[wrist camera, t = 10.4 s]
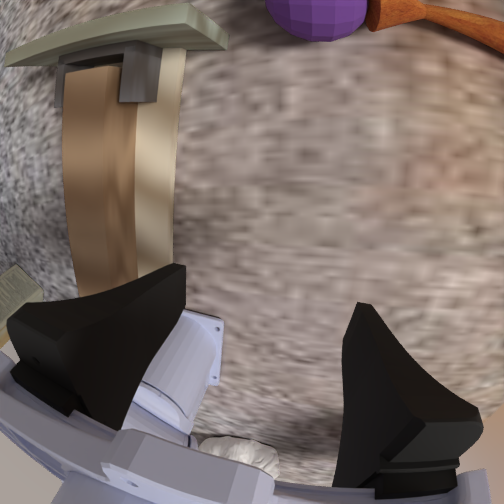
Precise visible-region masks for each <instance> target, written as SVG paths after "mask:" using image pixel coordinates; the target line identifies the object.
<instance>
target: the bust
mask: <svg viewBox="0 0 504 504" xmlns="http://www.w3.org/2000/svg"><path fill="white" fill-rule="evenodd" d="M198 450H199V451H202V452H206V453H209V454H213V455H216V456H220V457H224V458H228V459H232V460H236V461H240V462H243V463H246V464H249V465H252V466H255V467H258V468H260V469H262V470H263V471H265V472H267V473H268V474H270V475H271V476H272V477H273V479H275V478H276V477H277V476H278V475H279V474H280V472H279V467H280V464H279V458H278V454H277V451H276V450H275V449H274V448H273V447H271V446H267V445H264V444H261V443H259V442H257V441H256V440H253V439H251V440H247V439H240V438H234V437H230V436H224V437H220V438H218V437H214V438H207V439H205V440H204V441H203V442H202V443H201V444H200V446H199V447H198Z"/></svg>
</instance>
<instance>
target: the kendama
mask: <svg viewBox="0 0 504 504" xmlns="http://www.w3.org/2000/svg"><path fill="white" fill-rule="evenodd" d="M265 3H266V8H267V9H268V11H269V12H270V14H271V16H272V17H273V19H274V21H275V22H276V23H277V24H278V25H280V26H281V27H282V28H284V29H285V30H286V31H287V32H289V33H290V34H291V35H294V36H297V37H300V38H303V39H306V40H309V41H325V42H332V41H334V40H337V39H340V38H343V37H347V36H349V35H350V34H351V33H352V32H353V31H355V30H356V29H357V28H358V27H359V26H360V25H361V24H362V23H363V22H364V19H365V21H366V25H367V27H368V29H369V30H370V31H372V32H375V31H379V30H382V29H385V28H389V27H392V26H396V25H399V24H403V23H407V22H411V21H415V20H419V19H426V20H429V21H432V22H434V23H437V24H440V25H442V26H445V27H448V28H450V29H453V30H455V31H457V32H460V33H462V34H464V35H467V36H469V37H471V38H473V39H475V40H478V41H480V42H482V43H484V44H486V45H488V46H490V47H492V48H494V49H495V50H497V51H499V52H501V53H503V54H504V22H501V21H498V20H495V19H492V18H488V17H484V16H481V15H477V14H473V13H469V12H465V11H460V10H455V9H450V8H445V7H440V6H434V5H427V4H423V3H421V2H420V1H418V0H265Z"/></svg>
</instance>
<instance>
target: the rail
mask: <svg viewBox="0 0 504 504" xmlns="http://www.w3.org/2000/svg"><path fill="white" fill-rule="evenodd" d="M121 76H122V68H120V67H113V66H104V67H97V68H91V69H86V70H80V71H75V72H70V73H66V76H65V86H64V99H63V120H62V163H63V184H64V198H65V209H66V218H67V227H68V235H69V242H70V248H71V255H72V261H73V266H74V272H75V277H76V282H77V287H78V292H79V296H80V297H84V296H88V295H93V294H97V293H100V292H103V291H107V290H110V289H113V288H115V287H118V286H121V285H123V284H126V283H128V282H130V281H133V280H135V279H138V266H137V250H136V230H135V145H136V126H137V111H138V102H119V97H120V86H121Z"/></svg>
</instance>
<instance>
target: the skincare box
mask: <svg viewBox="0 0 504 504" xmlns="http://www.w3.org/2000/svg"><path fill="white" fill-rule="evenodd" d="M43 293H44V291H43V289H42V288H41V287H40V286H39V285H38V284H37V283H36V282H35V281H34V280H32V279H31V278H30V277H29V276H28V275H27V274H26V273H25V272H24V271H23V270H22V269H21V268H20V267H19V266H18V265H17V264H15V265H14V266H12V267H11V268H10V269H8V270H7V271H6V272H4V273H3V274H2V275H0V349H1V348H2V347H3V346H4V345H5V344H6V343H7V342H8V340H9V339H10V337H9V334H8V332H7V327H6V322H7V319H8V318H9V317H10V316H11V315H12V314H13V313H15V312H16V311H17V310H18V309H19V308H20V307H21V306H22V305H24V304H25V303H26V302H43Z"/></svg>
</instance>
